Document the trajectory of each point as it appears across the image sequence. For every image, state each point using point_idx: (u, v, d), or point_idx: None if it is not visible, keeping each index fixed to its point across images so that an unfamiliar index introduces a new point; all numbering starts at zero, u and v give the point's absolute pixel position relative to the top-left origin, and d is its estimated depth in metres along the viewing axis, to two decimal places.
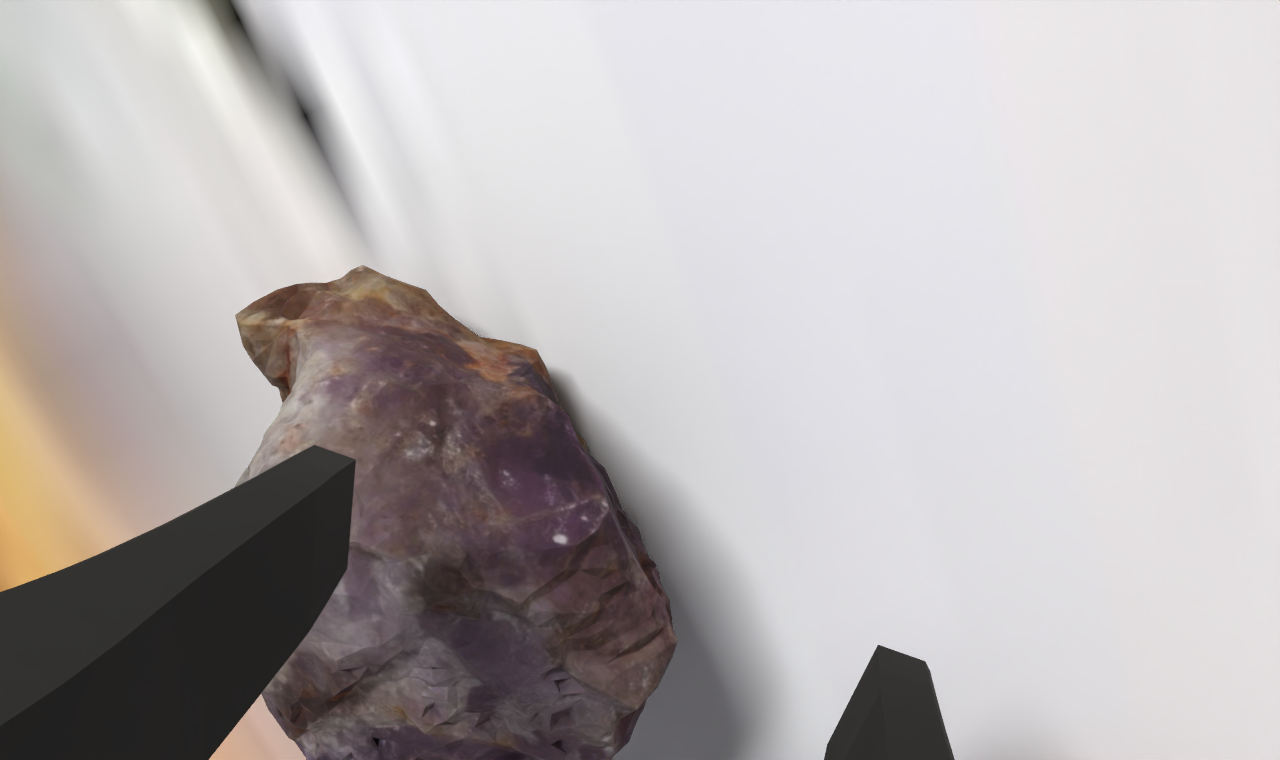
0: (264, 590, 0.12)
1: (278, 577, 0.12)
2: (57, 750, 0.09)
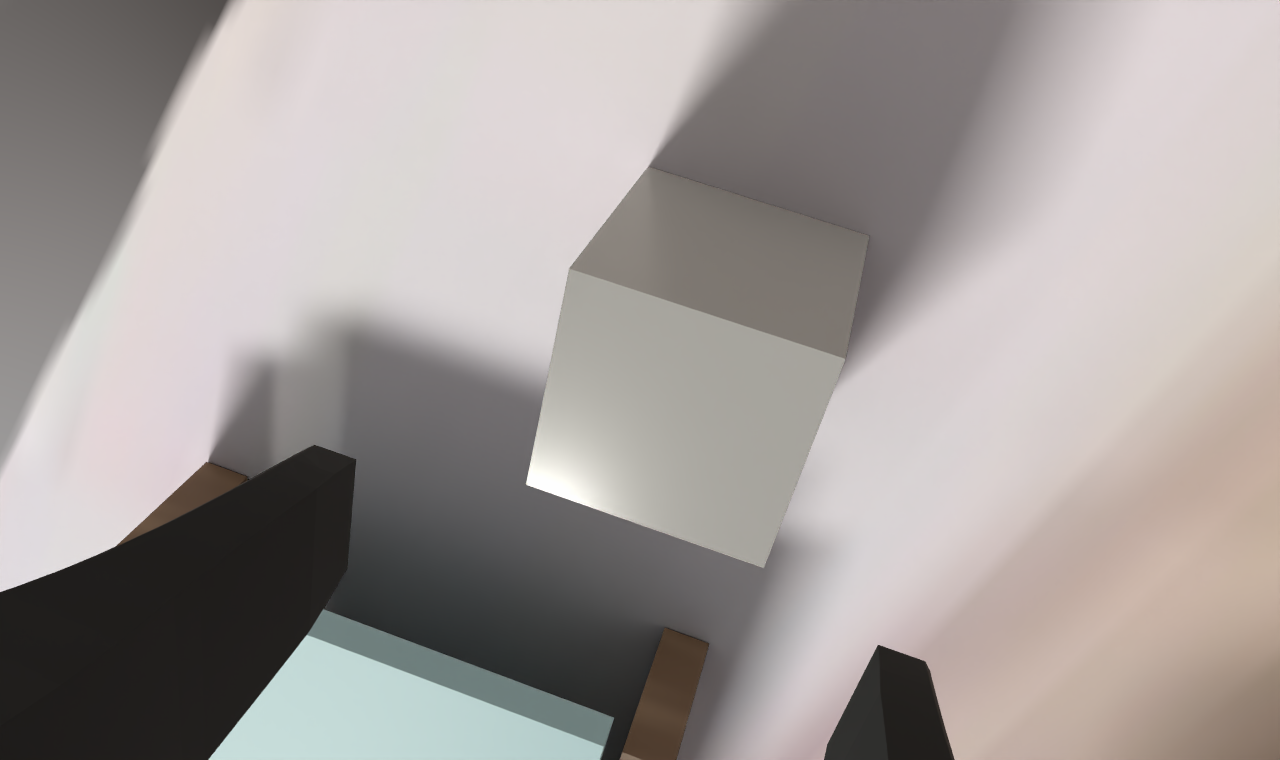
0: (264, 589, 0.12)
1: (278, 577, 0.12)
2: (58, 751, 0.09)
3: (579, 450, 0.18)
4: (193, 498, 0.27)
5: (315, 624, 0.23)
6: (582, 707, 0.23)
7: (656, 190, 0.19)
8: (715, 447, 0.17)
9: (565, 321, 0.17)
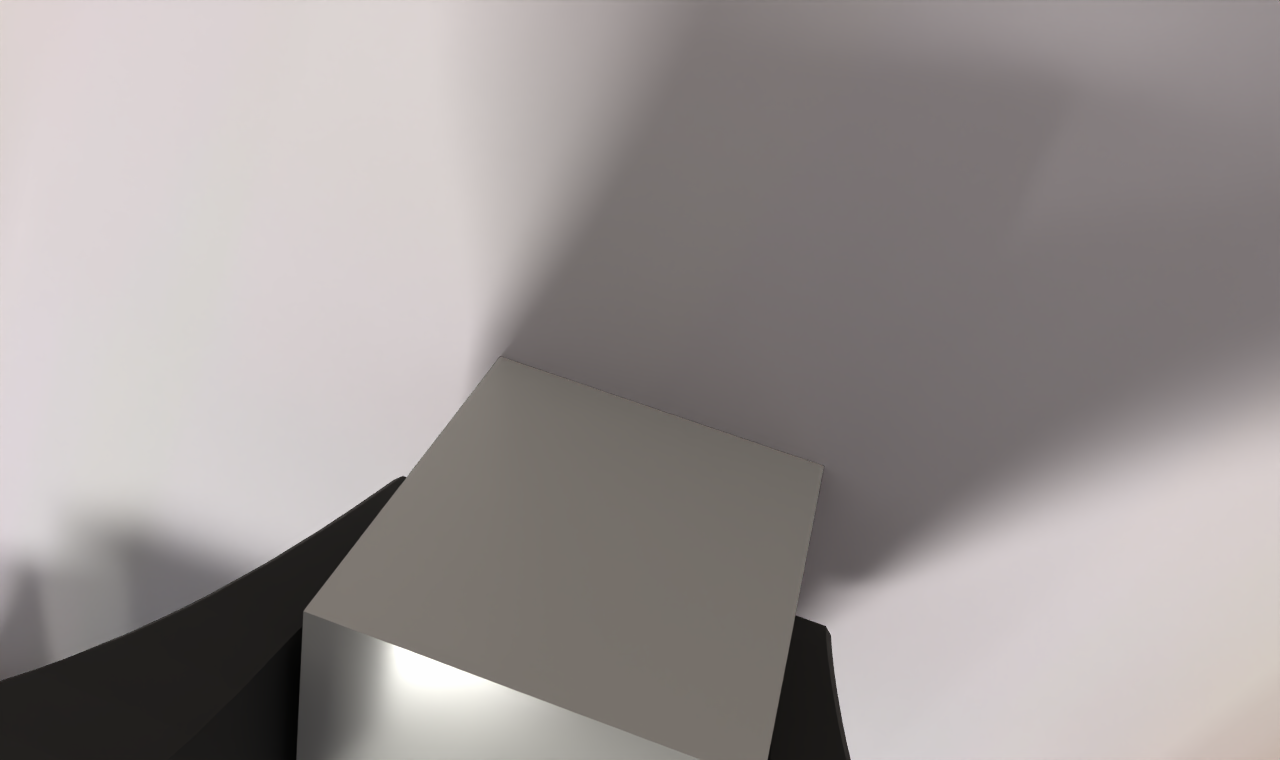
0: None
1: None
2: None
3: None
4: None
5: None
6: None
7: (501, 407, 0.13)
8: None
9: (310, 681, 0.10)
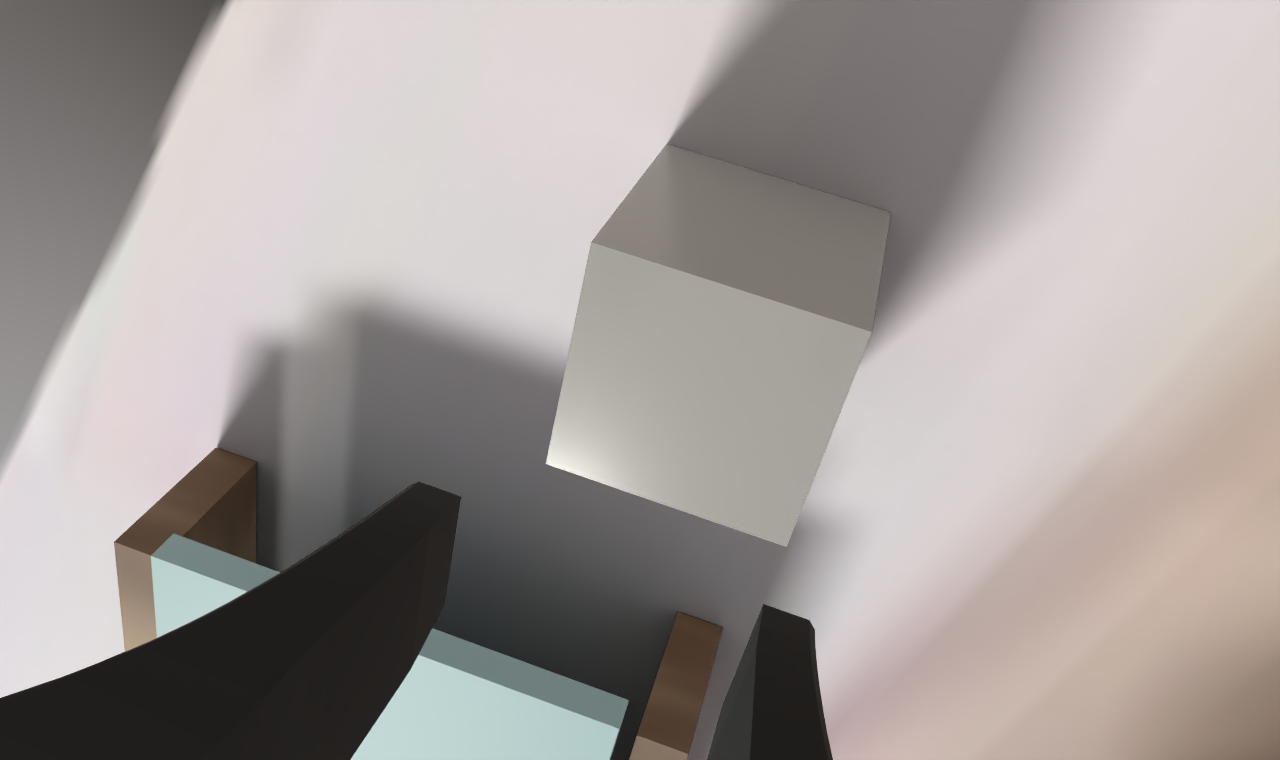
0: (380, 632, 0.12)
1: (392, 619, 0.12)
2: None
3: (600, 428, 0.18)
4: (202, 483, 0.26)
5: None
6: (597, 690, 0.22)
7: (676, 167, 0.19)
8: (739, 424, 0.17)
9: (586, 296, 0.17)
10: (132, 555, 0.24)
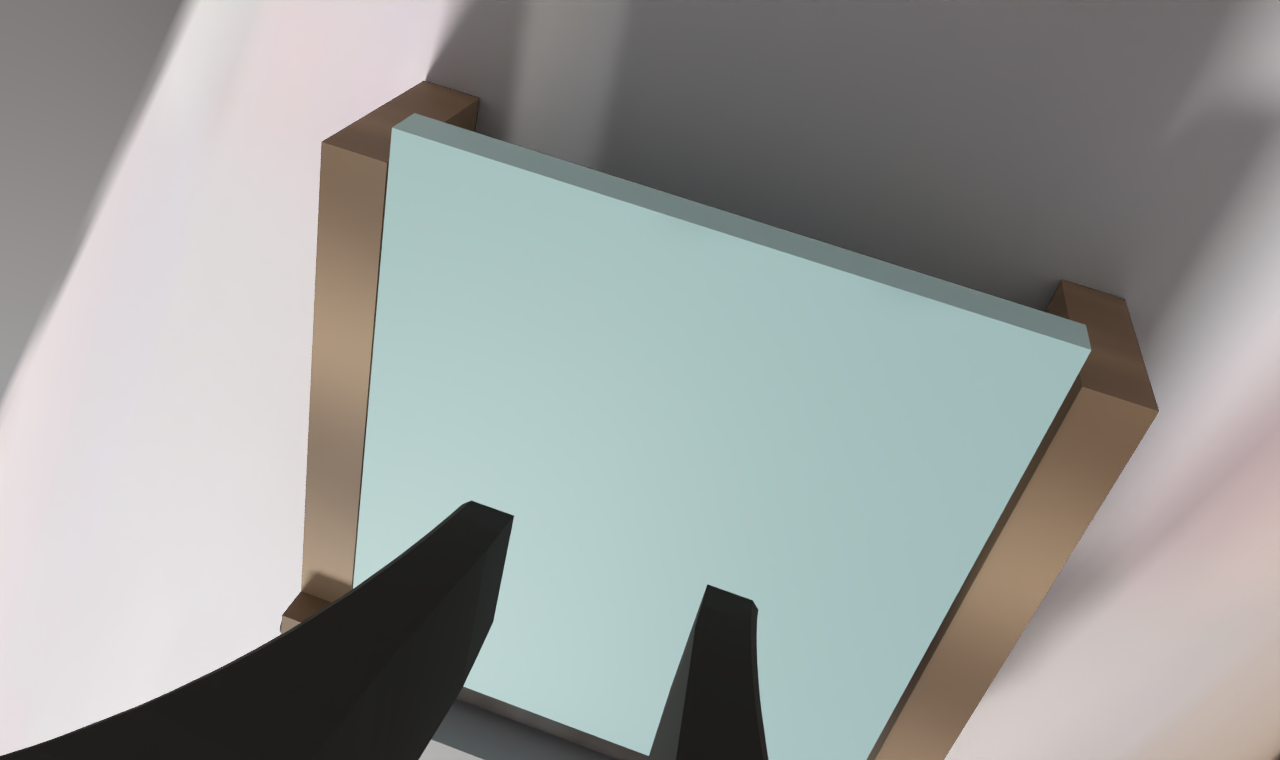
0: (438, 655, 0.12)
1: (449, 641, 0.12)
2: None
3: None
4: (418, 107, 0.20)
5: (646, 199, 0.16)
6: (1038, 310, 0.16)
7: None
8: None
9: None
10: (345, 163, 0.17)
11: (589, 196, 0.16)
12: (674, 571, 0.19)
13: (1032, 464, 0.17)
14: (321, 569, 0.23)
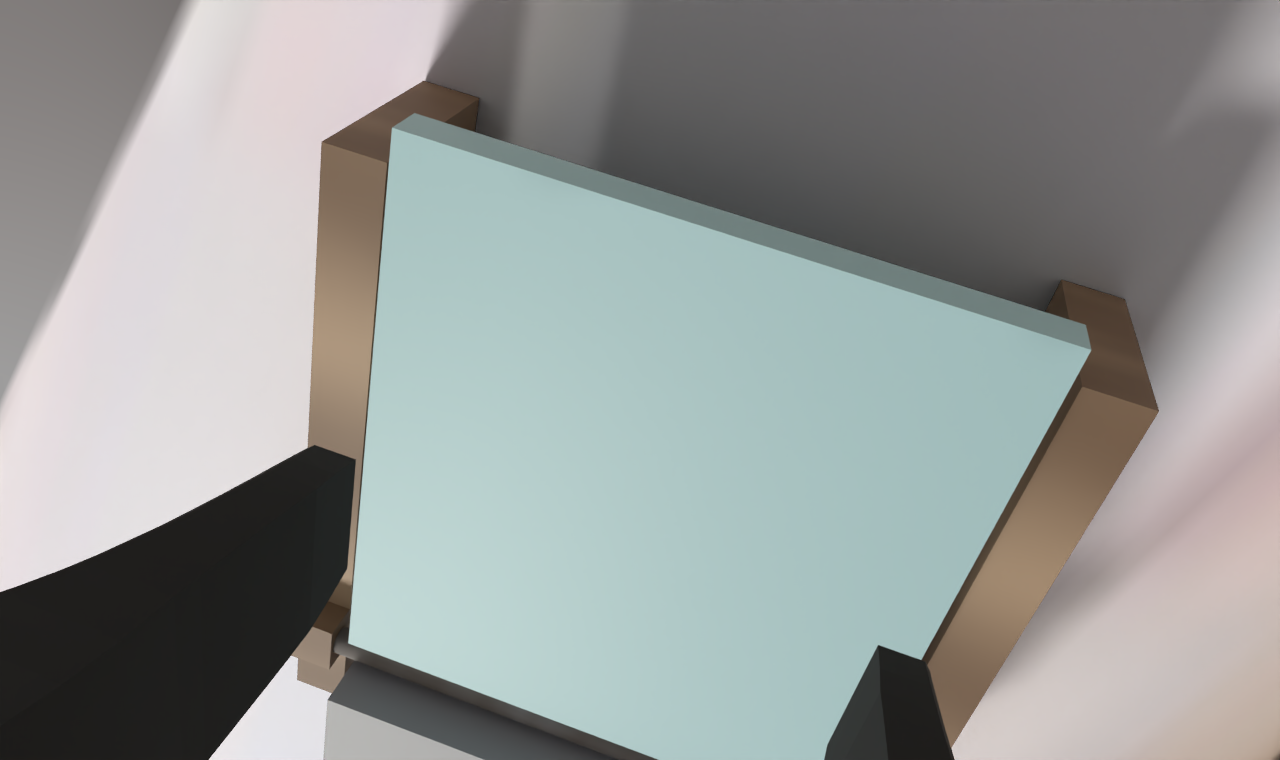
0: (264, 590, 0.12)
1: (278, 577, 0.12)
2: (59, 749, 0.09)
3: None
4: (418, 107, 0.20)
5: (646, 199, 0.16)
6: (1038, 310, 0.16)
7: None
8: None
9: None
10: (345, 163, 0.17)
11: (589, 196, 0.16)
12: (674, 571, 0.19)
13: (1032, 464, 0.17)
14: None
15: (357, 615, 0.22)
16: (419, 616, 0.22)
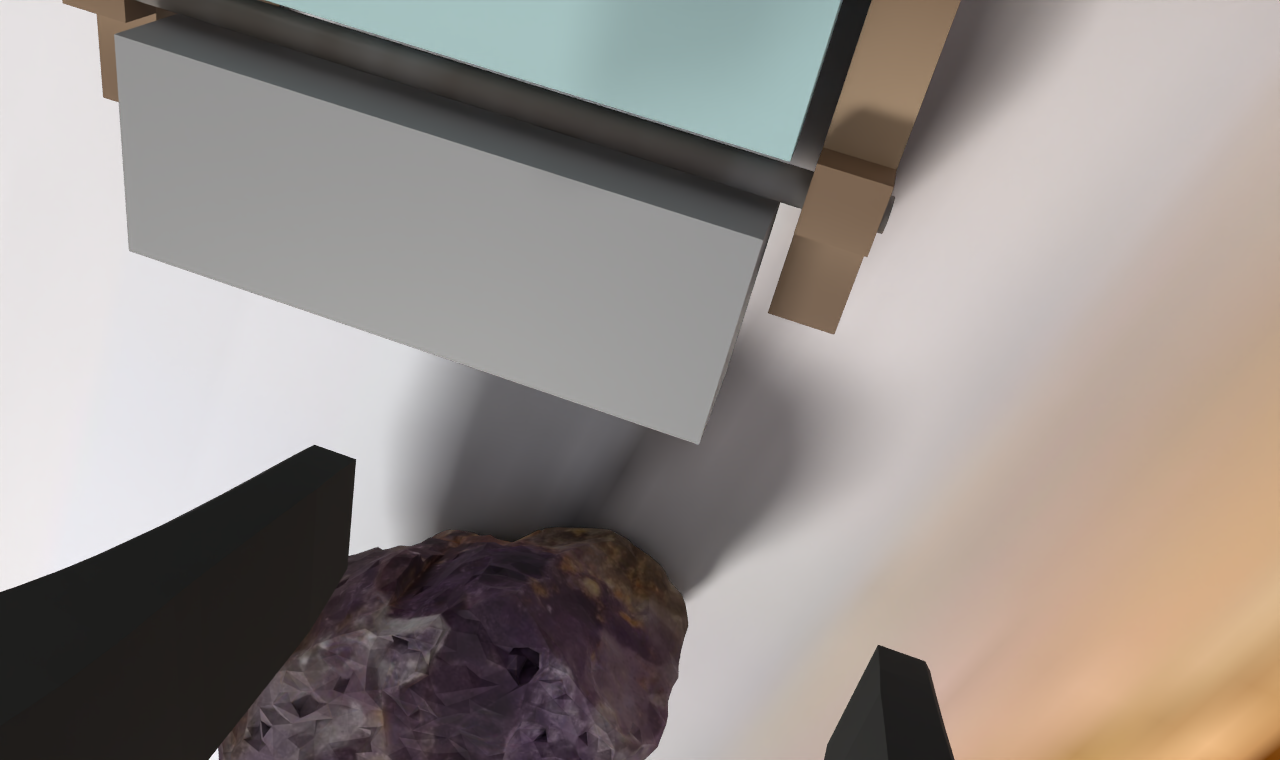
0: (264, 589, 0.12)
1: (278, 577, 0.12)
2: (58, 751, 0.09)
3: None
4: None
5: None
6: None
7: None
8: None
9: None
10: None
11: None
12: None
13: None
14: None
15: None
16: None
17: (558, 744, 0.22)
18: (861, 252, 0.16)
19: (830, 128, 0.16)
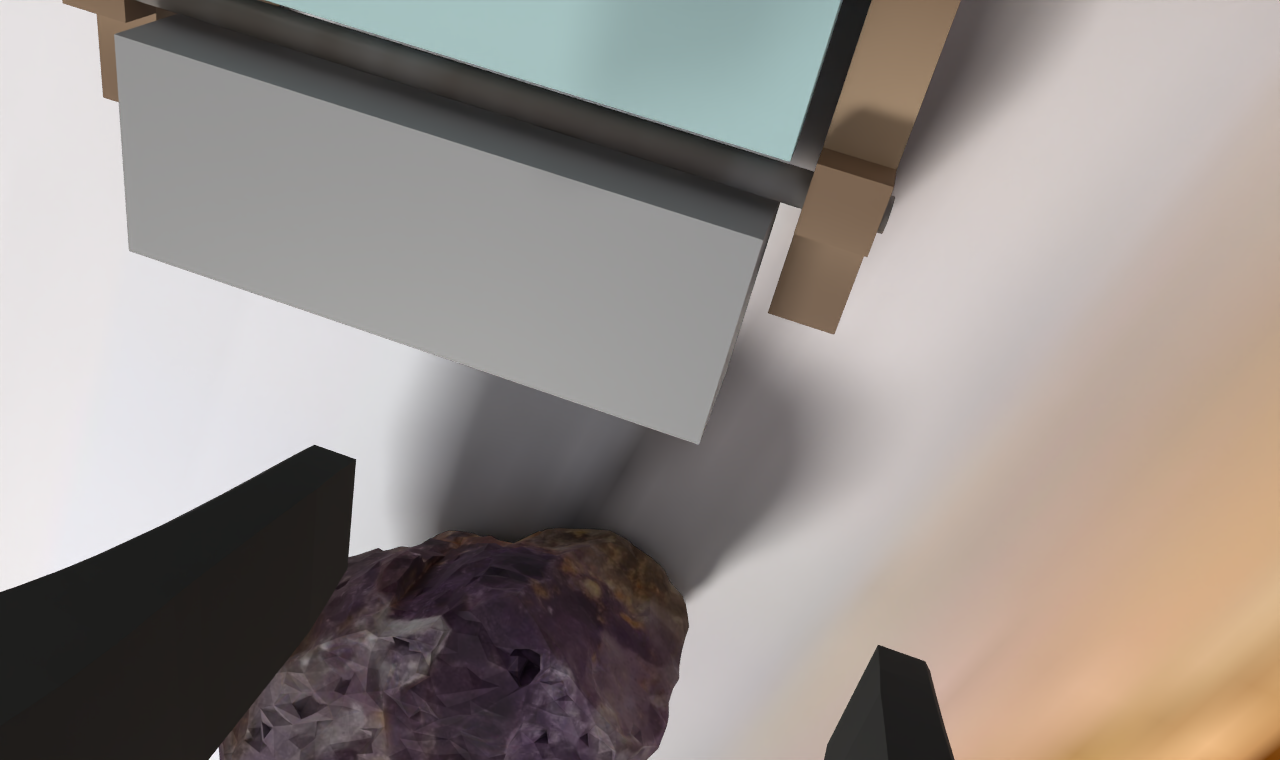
0: (264, 589, 0.12)
1: (278, 577, 0.12)
2: (58, 751, 0.09)
3: None
4: None
5: None
6: None
7: None
8: None
9: None
10: None
11: None
12: None
13: None
14: None
15: None
16: None
17: (559, 746, 0.22)
18: (861, 252, 0.16)
19: (830, 128, 0.16)
